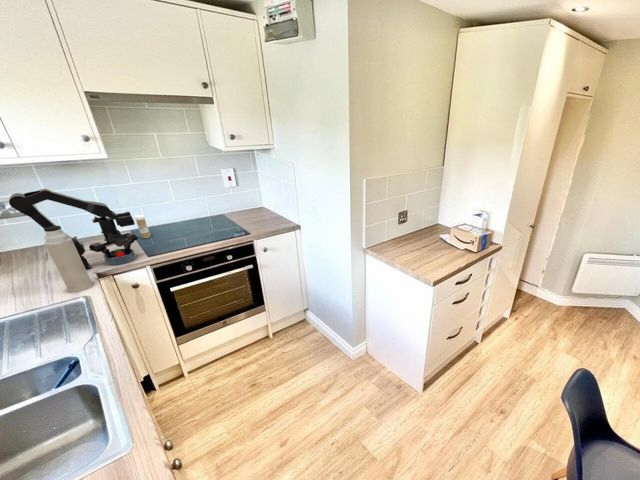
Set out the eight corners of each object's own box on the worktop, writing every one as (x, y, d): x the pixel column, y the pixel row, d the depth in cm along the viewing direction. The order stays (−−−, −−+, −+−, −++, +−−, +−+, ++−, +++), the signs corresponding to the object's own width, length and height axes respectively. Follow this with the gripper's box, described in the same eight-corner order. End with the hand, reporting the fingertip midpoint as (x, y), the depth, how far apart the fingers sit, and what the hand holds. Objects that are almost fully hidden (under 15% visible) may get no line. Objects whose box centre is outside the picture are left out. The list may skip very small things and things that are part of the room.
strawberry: (119, 261, 163) (115, 251, 160) (114, 260, 164) (109, 249, 162) (128, 258, 166) (124, 248, 164) (123, 256, 168) (119, 246, 165)
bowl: (115, 267, 158) (112, 260, 157) (100, 262, 162) (97, 255, 161) (141, 257, 169) (139, 251, 167) (127, 253, 173) (124, 246, 171)
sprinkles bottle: (140, 239, 190) (132, 217, 184) (143, 236, 194) (136, 214, 188) (149, 238, 192) (142, 216, 185) (152, 235, 195) (145, 214, 189)
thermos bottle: (63, 290, 138) (31, 230, 126) (81, 281, 145) (53, 223, 133) (79, 292, 138) (49, 231, 125) (97, 283, 145) (70, 224, 132)
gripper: (96, 238, 147) (109, 268, 154) (139, 226, 163) (149, 253, 170) (82, 234, 151) (95, 263, 158) (125, 222, 166) (136, 249, 174)
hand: (120, 257), depth 165 cm, fingers open, 7 cm apart
